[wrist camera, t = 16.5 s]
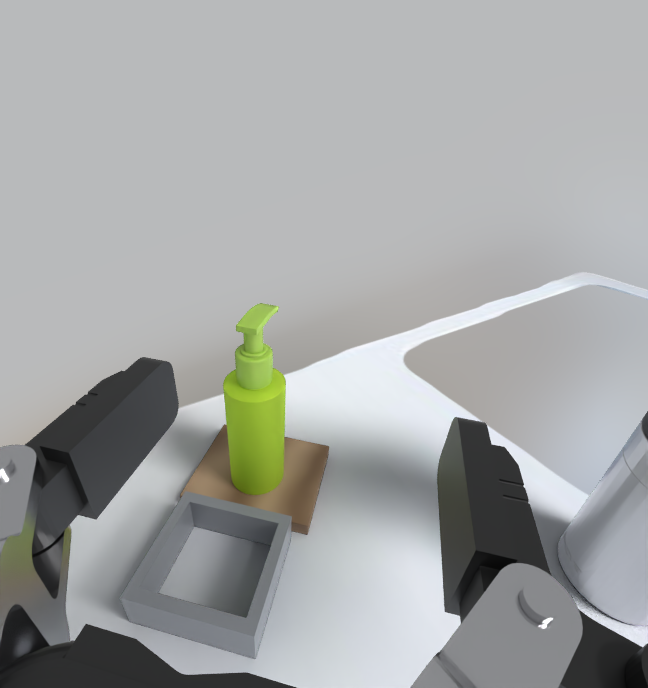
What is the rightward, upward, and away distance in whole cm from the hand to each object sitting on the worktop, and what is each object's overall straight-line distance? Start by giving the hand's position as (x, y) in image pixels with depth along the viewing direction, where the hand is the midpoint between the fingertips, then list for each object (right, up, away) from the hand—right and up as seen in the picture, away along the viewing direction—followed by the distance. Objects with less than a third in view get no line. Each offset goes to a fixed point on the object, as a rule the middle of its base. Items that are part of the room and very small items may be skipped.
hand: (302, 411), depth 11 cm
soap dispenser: (-7, -13, +33) cm, 36 cm away
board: (-7, -14, +34) cm, 37 cm away
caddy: (-9, -20, +24) cm, 32 cm away
